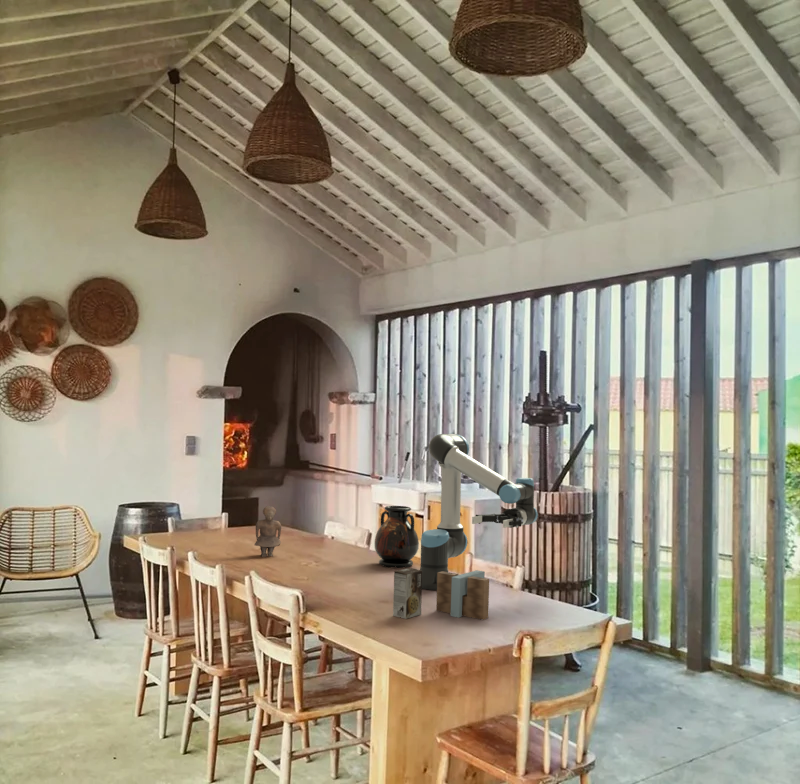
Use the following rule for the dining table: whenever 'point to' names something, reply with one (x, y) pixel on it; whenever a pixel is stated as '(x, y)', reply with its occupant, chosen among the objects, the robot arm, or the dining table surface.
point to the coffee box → (407, 593)
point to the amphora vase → (396, 538)
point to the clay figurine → (268, 532)
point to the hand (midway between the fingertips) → (488, 522)
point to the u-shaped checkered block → (472, 603)
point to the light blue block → (461, 590)
